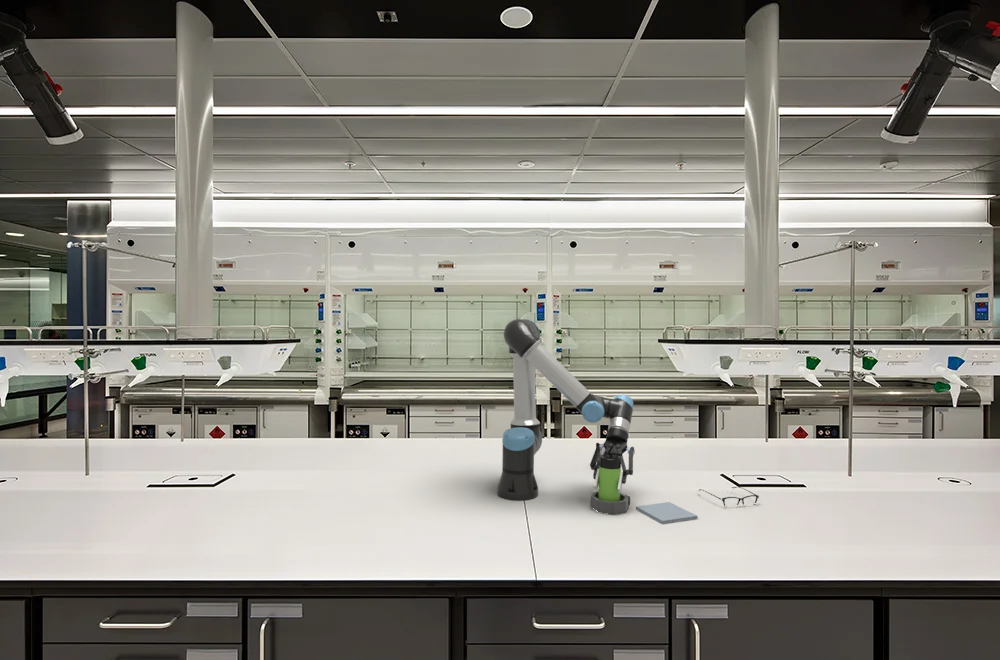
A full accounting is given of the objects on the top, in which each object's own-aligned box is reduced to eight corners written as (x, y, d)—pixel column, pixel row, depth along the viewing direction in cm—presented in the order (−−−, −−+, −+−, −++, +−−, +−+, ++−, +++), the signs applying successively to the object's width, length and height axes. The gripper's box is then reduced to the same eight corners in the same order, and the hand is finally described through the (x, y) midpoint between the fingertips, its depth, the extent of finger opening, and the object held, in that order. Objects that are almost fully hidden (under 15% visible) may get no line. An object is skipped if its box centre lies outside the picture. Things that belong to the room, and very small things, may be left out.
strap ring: (603, 516, 171) (603, 503, 171) (585, 504, 182) (585, 492, 182) (638, 511, 176) (638, 499, 176) (618, 500, 187) (618, 489, 187)
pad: (662, 524, 165) (662, 520, 165) (635, 509, 178) (635, 506, 178) (697, 518, 170) (697, 515, 170) (669, 504, 183) (669, 502, 183)
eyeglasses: (721, 509, 180) (721, 498, 180) (693, 495, 195) (693, 484, 195) (761, 506, 184) (761, 495, 184) (730, 492, 200) (731, 482, 200)
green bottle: (604, 501, 184) (606, 453, 184) (623, 506, 179) (624, 456, 179) (594, 507, 178) (595, 456, 178) (613, 512, 174) (614, 460, 174)
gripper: (647, 441, 189) (638, 499, 174) (592, 435, 197) (580, 490, 182) (645, 429, 184) (636, 488, 169) (589, 424, 192) (576, 479, 177)
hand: (607, 489), depth 176 cm, fingers closed on green bottle, 7 cm apart
